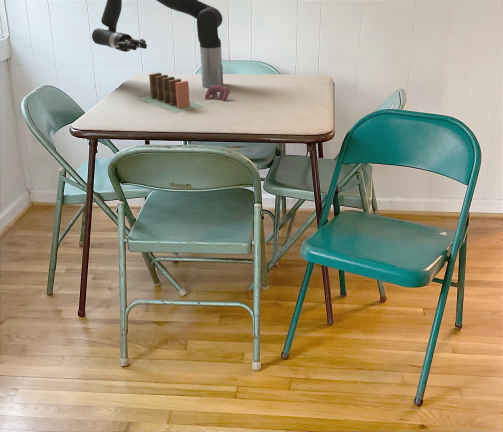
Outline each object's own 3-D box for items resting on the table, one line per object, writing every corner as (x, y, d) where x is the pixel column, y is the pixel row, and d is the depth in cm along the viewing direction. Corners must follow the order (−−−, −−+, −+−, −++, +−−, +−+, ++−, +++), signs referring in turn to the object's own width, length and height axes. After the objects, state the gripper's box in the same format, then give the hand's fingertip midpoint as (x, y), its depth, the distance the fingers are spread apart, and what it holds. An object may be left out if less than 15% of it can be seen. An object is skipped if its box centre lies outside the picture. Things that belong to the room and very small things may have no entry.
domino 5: (177, 107, 251) (175, 82, 247) (187, 105, 254) (185, 80, 250) (179, 108, 250) (177, 83, 246) (189, 106, 253) (188, 81, 249)
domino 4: (170, 105, 255) (168, 80, 251) (180, 103, 258) (179, 78, 253) (172, 106, 254) (170, 81, 249) (182, 103, 257) (181, 79, 252)
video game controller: (229, 103, 262) (232, 86, 262) (224, 101, 258) (227, 84, 258) (208, 101, 266) (211, 85, 266) (203, 99, 262) (206, 82, 262)
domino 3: (163, 102, 258) (161, 78, 254) (174, 100, 261) (172, 76, 257) (165, 103, 257) (163, 79, 253) (176, 101, 260) (174, 77, 256)
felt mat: (136, 99, 266) (136, 98, 266) (165, 93, 274) (165, 92, 274) (175, 113, 245) (175, 112, 245) (205, 106, 253) (205, 106, 252)
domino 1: (151, 98, 266) (149, 74, 261) (161, 96, 268) (159, 72, 264) (153, 99, 264) (151, 75, 260) (163, 96, 267) (161, 73, 263)
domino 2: (157, 100, 262) (155, 76, 258) (167, 98, 265) (165, 74, 261) (159, 101, 261) (157, 77, 257) (169, 99, 264) (167, 75, 259)
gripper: (105, 35, 272) (124, 39, 260) (134, 31, 280) (154, 35, 268) (107, 52, 275) (126, 58, 263) (136, 48, 283) (156, 53, 271)
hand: (140, 46), depth 265 cm, fingers open, 4 cm apart
